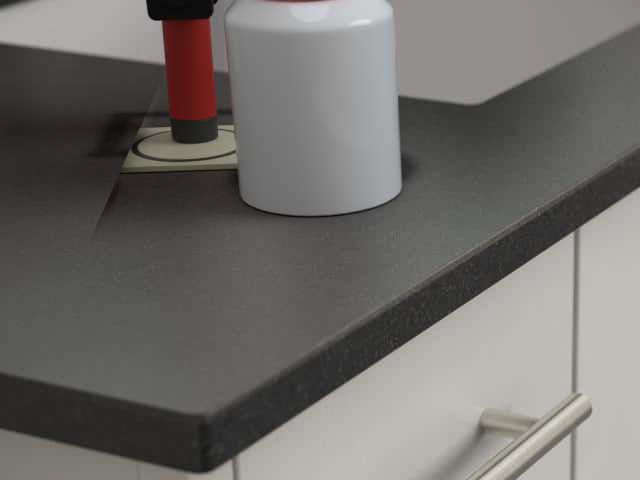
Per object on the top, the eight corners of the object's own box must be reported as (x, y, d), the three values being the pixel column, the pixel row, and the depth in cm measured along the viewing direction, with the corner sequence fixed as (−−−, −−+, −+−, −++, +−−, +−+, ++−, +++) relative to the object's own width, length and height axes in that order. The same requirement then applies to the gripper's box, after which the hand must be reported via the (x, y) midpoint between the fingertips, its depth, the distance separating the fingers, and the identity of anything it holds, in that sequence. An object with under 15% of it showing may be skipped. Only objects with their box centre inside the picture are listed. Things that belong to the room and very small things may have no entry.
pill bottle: (221, 178, 80) (198, -55, 75) (370, 158, 83) (358, -69, 78) (265, 226, 74) (244, -25, 69) (425, 202, 77) (416, -42, 71)
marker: (169, 144, 84) (147, -102, 79) (174, 130, 86) (153, -110, 81) (216, 143, 84) (198, -102, 79) (220, 130, 87) (202, -110, 81)
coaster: (103, 173, 81) (102, 166, 81) (122, 134, 87) (121, 127, 87) (265, 168, 82) (264, 160, 82) (272, 129, 88) (272, 122, 88)
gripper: (81, -404, 80) (130, -18, 89) (19, -406, 66) (84, 53, 75) (235, -408, 81) (268, -23, 90) (206, -410, 67) (249, 47, 75)
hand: (184, 8), depth 82 cm, fingers closed on marker, 2 cm apart
